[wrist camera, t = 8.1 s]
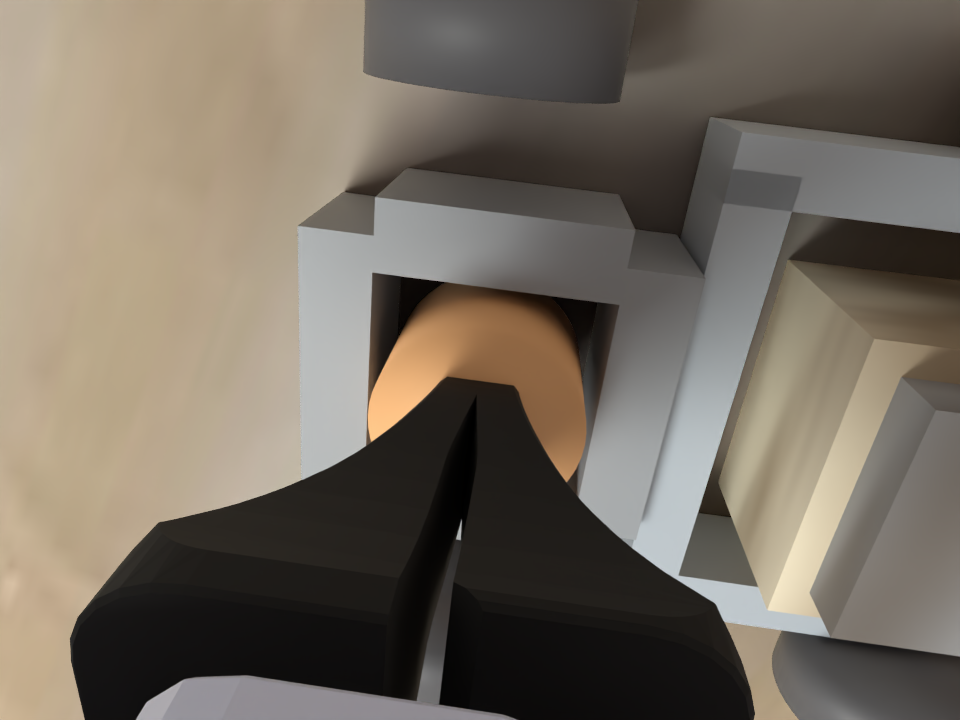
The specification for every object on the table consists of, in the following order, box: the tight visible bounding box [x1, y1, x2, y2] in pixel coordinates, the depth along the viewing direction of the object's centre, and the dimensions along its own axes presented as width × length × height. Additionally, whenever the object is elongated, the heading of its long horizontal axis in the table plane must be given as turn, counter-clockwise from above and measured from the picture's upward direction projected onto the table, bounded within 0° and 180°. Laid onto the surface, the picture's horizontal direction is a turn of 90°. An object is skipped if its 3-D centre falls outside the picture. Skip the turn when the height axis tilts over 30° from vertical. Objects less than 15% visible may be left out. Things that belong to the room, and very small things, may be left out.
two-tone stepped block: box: [718, 260, 960, 656], centre depth 13 cm, size 4×6×6 cm
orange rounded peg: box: [368, 282, 586, 482], centre depth 14 cm, size 4×4×4 cm
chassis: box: [298, 0, 960, 720], centre depth 14 cm, size 17×15×4 cm
